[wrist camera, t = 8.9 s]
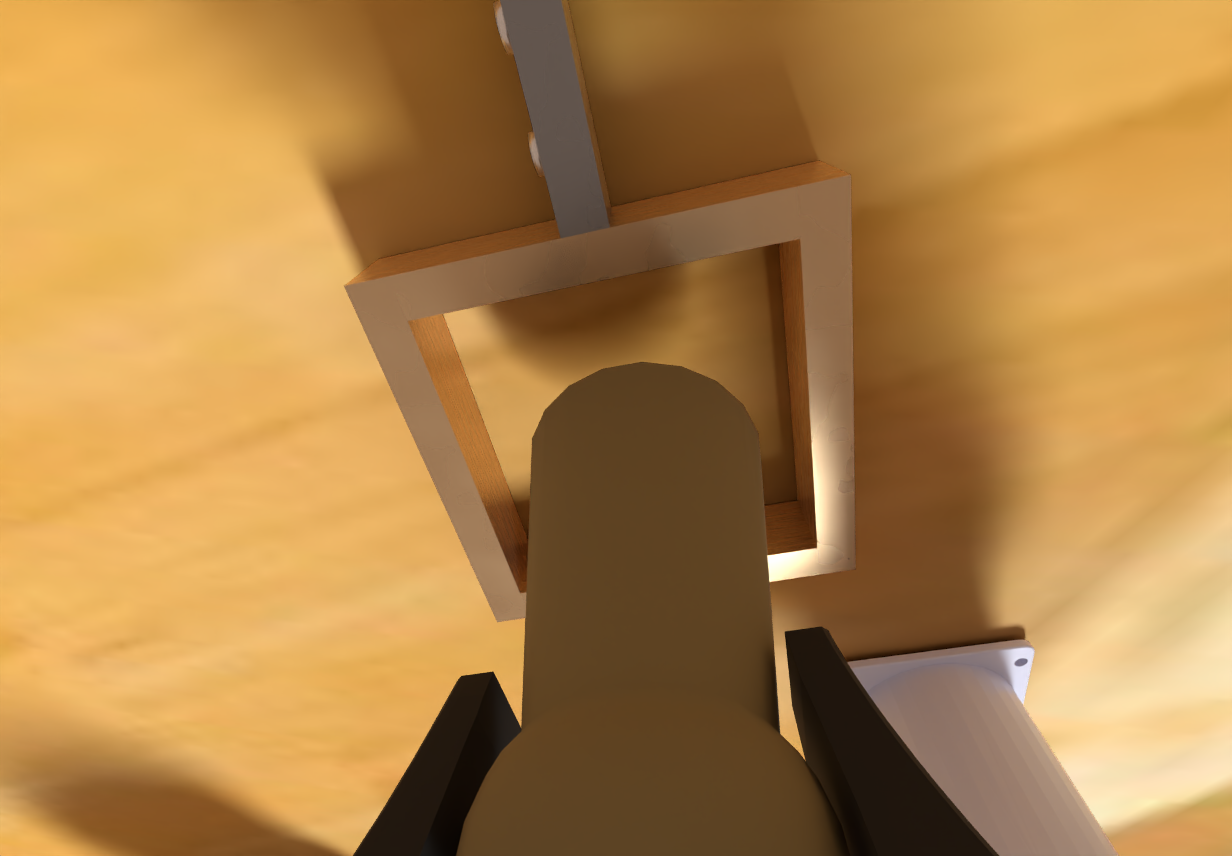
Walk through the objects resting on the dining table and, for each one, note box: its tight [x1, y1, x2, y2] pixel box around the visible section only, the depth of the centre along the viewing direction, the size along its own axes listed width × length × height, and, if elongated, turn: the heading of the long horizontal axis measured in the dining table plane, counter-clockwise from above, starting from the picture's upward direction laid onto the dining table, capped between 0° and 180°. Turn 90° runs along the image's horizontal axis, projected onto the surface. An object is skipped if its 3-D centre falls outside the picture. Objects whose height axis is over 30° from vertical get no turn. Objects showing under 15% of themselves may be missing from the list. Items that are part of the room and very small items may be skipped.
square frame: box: [344, 0, 856, 622], centre depth 18 cm, size 24×12×2 cm, turn 12°
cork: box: [456, 362, 850, 856], centre depth 11 cm, size 6×6×11 cm
